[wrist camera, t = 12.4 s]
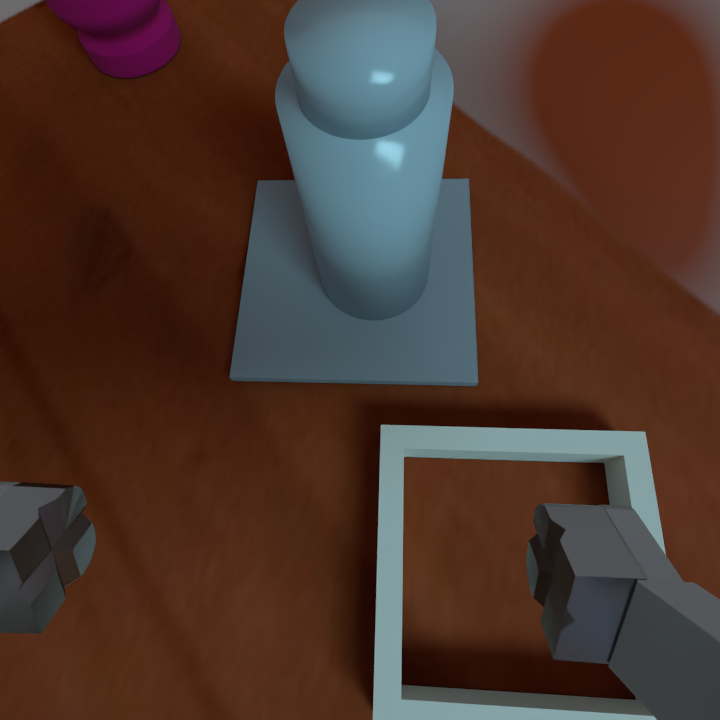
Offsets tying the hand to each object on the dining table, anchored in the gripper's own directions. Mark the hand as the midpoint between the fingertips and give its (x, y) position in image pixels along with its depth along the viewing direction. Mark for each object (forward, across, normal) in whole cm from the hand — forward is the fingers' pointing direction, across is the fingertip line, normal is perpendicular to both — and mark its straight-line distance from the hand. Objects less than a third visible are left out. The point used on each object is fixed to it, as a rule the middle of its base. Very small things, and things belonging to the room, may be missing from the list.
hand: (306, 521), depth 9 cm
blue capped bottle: (+19, -1, -1) cm, 19 cm away
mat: (+19, 0, 0) cm, 19 cm away
